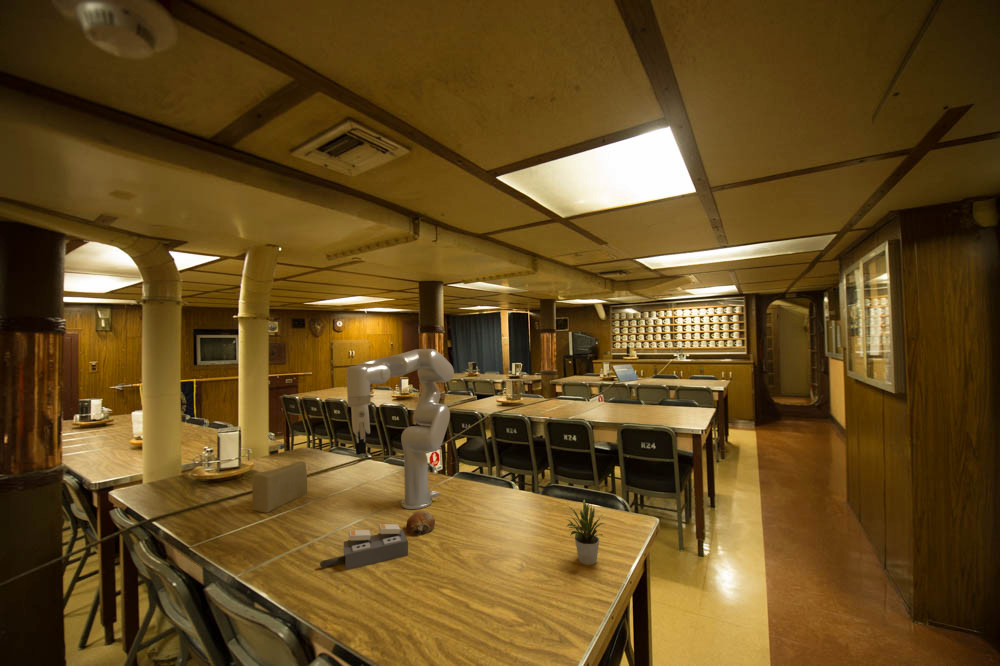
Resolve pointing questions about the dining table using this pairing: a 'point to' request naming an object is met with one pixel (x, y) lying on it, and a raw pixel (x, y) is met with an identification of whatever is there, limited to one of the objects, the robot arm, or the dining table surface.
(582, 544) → the house plant
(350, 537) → the block
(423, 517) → the brown round lump
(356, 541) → the power strip
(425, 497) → the robot arm
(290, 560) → the dining table surface
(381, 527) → the rocker
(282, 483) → the beige slab
